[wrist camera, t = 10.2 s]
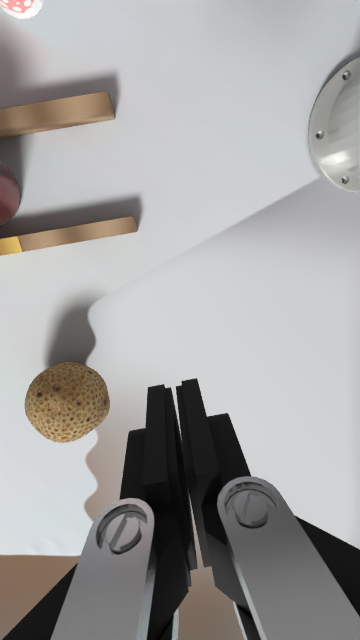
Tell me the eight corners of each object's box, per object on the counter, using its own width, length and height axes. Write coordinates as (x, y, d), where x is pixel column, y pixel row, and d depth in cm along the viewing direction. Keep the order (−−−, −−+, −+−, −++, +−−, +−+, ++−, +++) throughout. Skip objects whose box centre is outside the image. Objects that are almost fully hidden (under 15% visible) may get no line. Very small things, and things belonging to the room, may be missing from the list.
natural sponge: (129, 374, 40) (121, 423, 30) (87, 419, 41) (67, 478, 32) (72, 332, 37) (43, 370, 28) (30, 381, 39) (-11, 432, 29)
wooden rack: (111, 100, 30) (102, 78, 25) (137, 231, 34) (134, 232, 29) (-90, 134, 30) (-137, 118, 25) (-40, 262, 34) (-72, 268, 29)
